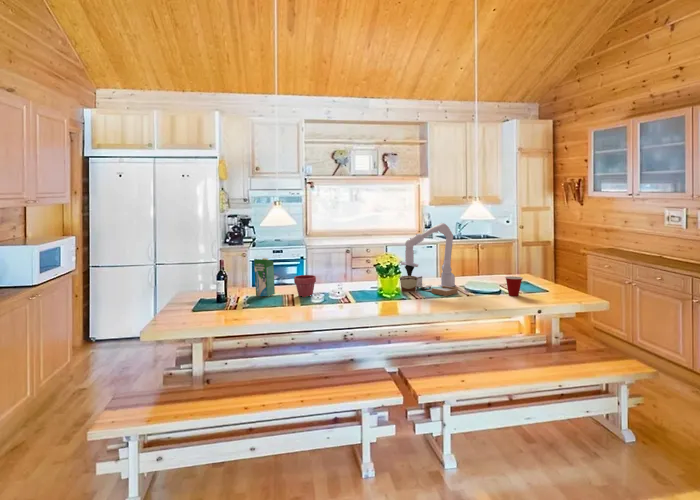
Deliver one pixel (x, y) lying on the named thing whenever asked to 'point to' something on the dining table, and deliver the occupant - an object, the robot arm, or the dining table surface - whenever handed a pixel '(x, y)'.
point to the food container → (408, 283)
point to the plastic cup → (513, 285)
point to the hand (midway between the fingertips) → (409, 276)
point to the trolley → (420, 285)
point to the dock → (444, 290)
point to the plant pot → (305, 284)
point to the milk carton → (264, 277)
